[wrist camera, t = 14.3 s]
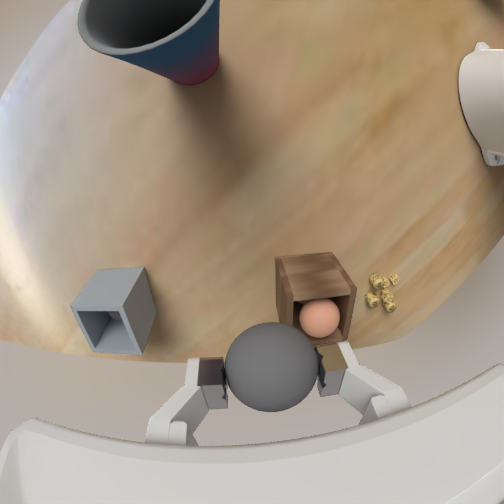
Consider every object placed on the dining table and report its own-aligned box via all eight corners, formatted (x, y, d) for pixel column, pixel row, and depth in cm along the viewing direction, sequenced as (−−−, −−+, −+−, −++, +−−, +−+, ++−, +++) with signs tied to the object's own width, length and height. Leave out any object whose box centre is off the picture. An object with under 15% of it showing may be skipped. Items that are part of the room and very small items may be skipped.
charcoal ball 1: (136, 278, 29) (125, 298, 25) (145, 306, 31) (136, 327, 27) (107, 279, 29) (94, 298, 25) (117, 307, 31) (106, 327, 27)
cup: (221, 97, 22) (201, 55, 8) (151, 92, 21) (62, 63, 8) (234, 34, 19) (234, -55, 6) (165, 31, 18) (102, -43, 5)
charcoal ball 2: (308, 299, 12) (336, 364, 8) (304, 358, 14) (322, 419, 10) (219, 308, 12) (217, 379, 8) (229, 367, 13) (231, 431, 10)
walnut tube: (332, 252, 29) (356, 288, 23) (327, 299, 32) (346, 340, 25) (275, 256, 29) (286, 296, 23) (276, 304, 32) (285, 348, 25)
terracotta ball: (342, 291, 24) (349, 332, 23) (327, 295, 28) (334, 332, 27) (302, 299, 24) (309, 343, 23) (291, 302, 28) (298, 340, 27)
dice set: (387, 304, 34) (393, 312, 32) (357, 303, 33) (362, 312, 32) (401, 273, 32) (408, 280, 30) (370, 269, 31) (377, 277, 29)
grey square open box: (144, 266, 29) (122, 305, 22) (157, 312, 32) (142, 354, 25) (97, 270, 29) (69, 305, 22) (113, 312, 32) (93, 351, 25)
